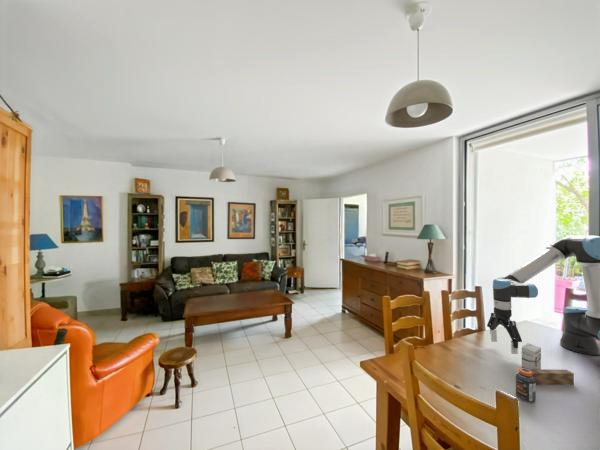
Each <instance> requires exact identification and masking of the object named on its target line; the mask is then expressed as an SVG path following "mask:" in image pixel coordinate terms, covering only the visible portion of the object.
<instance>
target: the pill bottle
mask: <svg viewBox="0 0 600 450" xmlns="http://www.w3.org/2000/svg"><path fill="white" fill-rule="evenodd" d="M536 386H537V385H536V381H535V378H534V377H533V376H532V372H531V371H530V370H528V369H526V368H522V367H519V368H518V372H516V373H515V396H516V397H517V398H518V399H519V400H522V401H523V402H526V403H529V404H534V403H536V401H537V399H536V397H537V396H536V393H537V391H536Z"/></svg>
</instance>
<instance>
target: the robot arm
mask: <svg viewBox="0 0 600 450" xmlns="http://www.w3.org/2000/svg"><path fill="white" fill-rule="evenodd" d="M545 248H546V249H545V250H544V251H542V252H541V253H539V254H538V255H537V256H535V257H533V258H532V259H531V260H529V261H528V262H525V263H524V264H523V265H521V266H520V267H519V268H517V269H515V270H514V271H513V272H511V273H509V274H508V275H506V276H505V277H504V276H499V277H498V278H494V279H493V281H492V293H493V294H492V295H493V297H492V298H493V312H491V313H490V317H489V320H488V322H487V324H486V327H487V328H489V330H490V342H492V343H493V342H494V343H495V342H496V343H497V341H498V340H497V339H498V338H497V336H498V335H497V328H498V327H499V326H502V327H503V328H504V329H505V330H506V332H507V333H508V335H509V337H510V338H511V340H510V353H511V354H512V355H518V353H519V352H518V351H519V343H522V342H523V341H522V338H521V334H520V331H519V330H518V327H517V322H516V320H511V317H512V315H513V314H512V298H521V299H522V298H523V299H524V298H525V299H526V298H527V299H533V298H536V297H538V295H539V289H538V287H537V286H536V285H535V284H533V283H528V281H529V280H531V279H533V278H534V277H536V276H537V275H539V274H540V273H542V272H544V271H545V270H546V269H548V268H550V267H552V265H554V264H556V263H557V262H559V261H565V260H566V259H567V258H571V257H575V260H576V263H577V264H580V265H581V270H582V275H583V277H582V278H583V282H584V289H585V293H586V300H587V307H588V308H587V307H582V306H581V307H580V306H566V307H564V309H563V326H564V327H563V328H564V329H563V333H562V335H561V338H560V340H559V344H560V346H561V347H563V348H564V349H567V350H569V351H572V352H576V353H579V354H584V355H589V356H600V347H599V344H598V342H597V340H600V236H599V235H588V234H587V235H582V234H581V235H579V234H574V235H573V234H572V235H567V236H564V237H561V238H559V239H558V240H556V241H554V242H553V243H551V244H549V245H548V246H547V247H545Z"/></svg>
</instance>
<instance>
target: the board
mask: <svg viewBox="0 0 600 450" xmlns="http://www.w3.org/2000/svg"><path fill="white" fill-rule="evenodd" d="M528 370H530V371H531V372H532V376H533V377H534V378H535V381H536V386H575V373H574V372H572V371H570V370H568V369H554V368H553V369H543V368H541V369H528Z"/></svg>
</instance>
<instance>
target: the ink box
mask: <svg viewBox="0 0 600 450" xmlns="http://www.w3.org/2000/svg"><path fill="white" fill-rule="evenodd" d="M521 368H526V369H542V347H541V346H537V345H535V344H532V343H529V342H528V343H526V344H524V345H523V346H521Z"/></svg>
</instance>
